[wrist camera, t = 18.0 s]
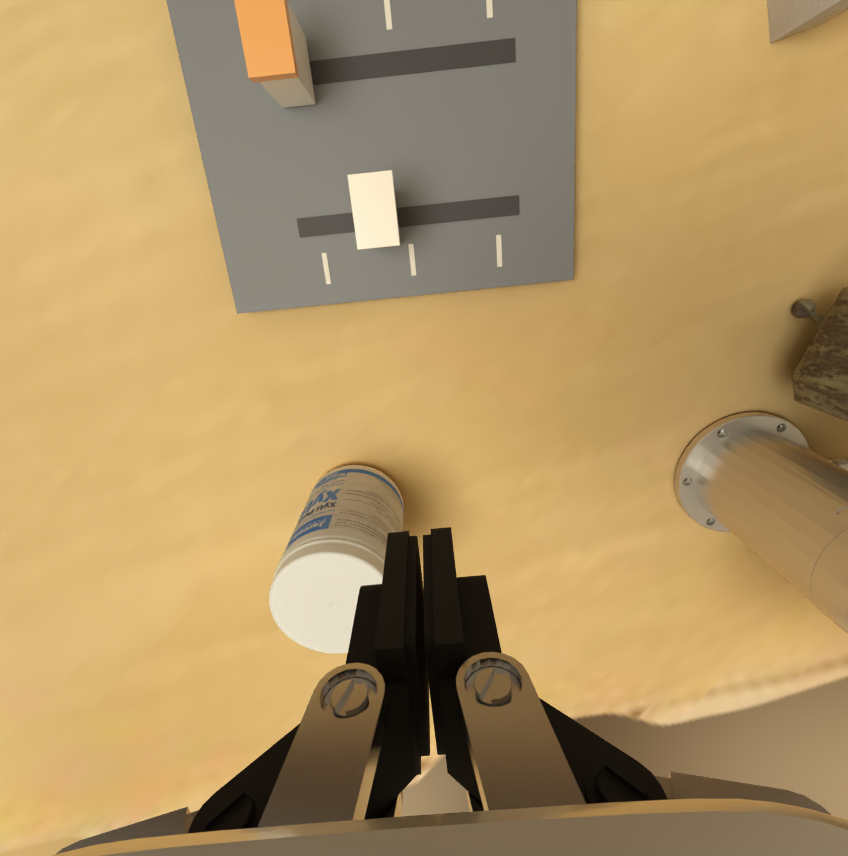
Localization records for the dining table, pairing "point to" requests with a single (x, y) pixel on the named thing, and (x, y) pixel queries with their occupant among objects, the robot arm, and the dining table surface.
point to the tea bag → (800, 15)
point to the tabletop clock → (824, 359)
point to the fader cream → (374, 209)
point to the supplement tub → (335, 556)
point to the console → (390, 147)
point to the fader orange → (275, 50)
